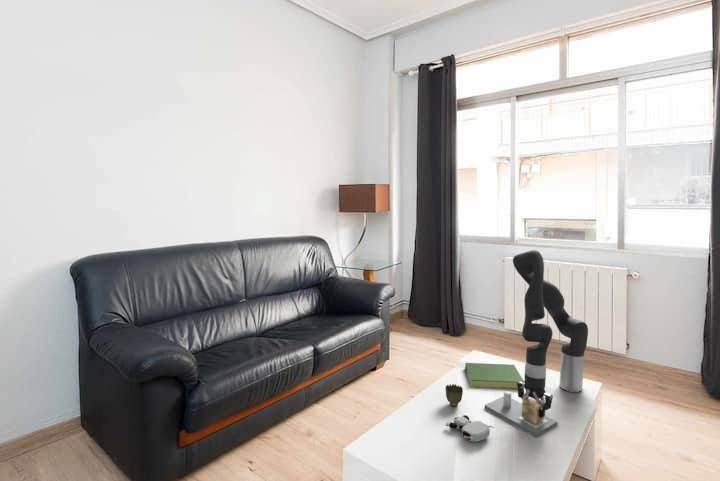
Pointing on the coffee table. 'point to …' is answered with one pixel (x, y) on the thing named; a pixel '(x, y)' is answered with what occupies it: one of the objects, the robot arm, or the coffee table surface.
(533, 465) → the coffee table surface
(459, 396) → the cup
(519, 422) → the post board
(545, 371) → the robot arm
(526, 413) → the cardboard box
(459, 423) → the robot toy
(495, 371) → the hardcover book
